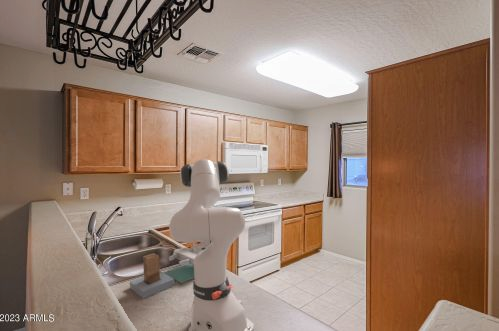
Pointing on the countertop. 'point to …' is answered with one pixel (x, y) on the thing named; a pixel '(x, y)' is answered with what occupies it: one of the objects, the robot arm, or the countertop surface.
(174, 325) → the countertop surface
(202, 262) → the robot arm
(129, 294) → the countertop surface
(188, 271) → the teal mat
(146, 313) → the countertop surface
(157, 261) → the walnut peg
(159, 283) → the socket block
